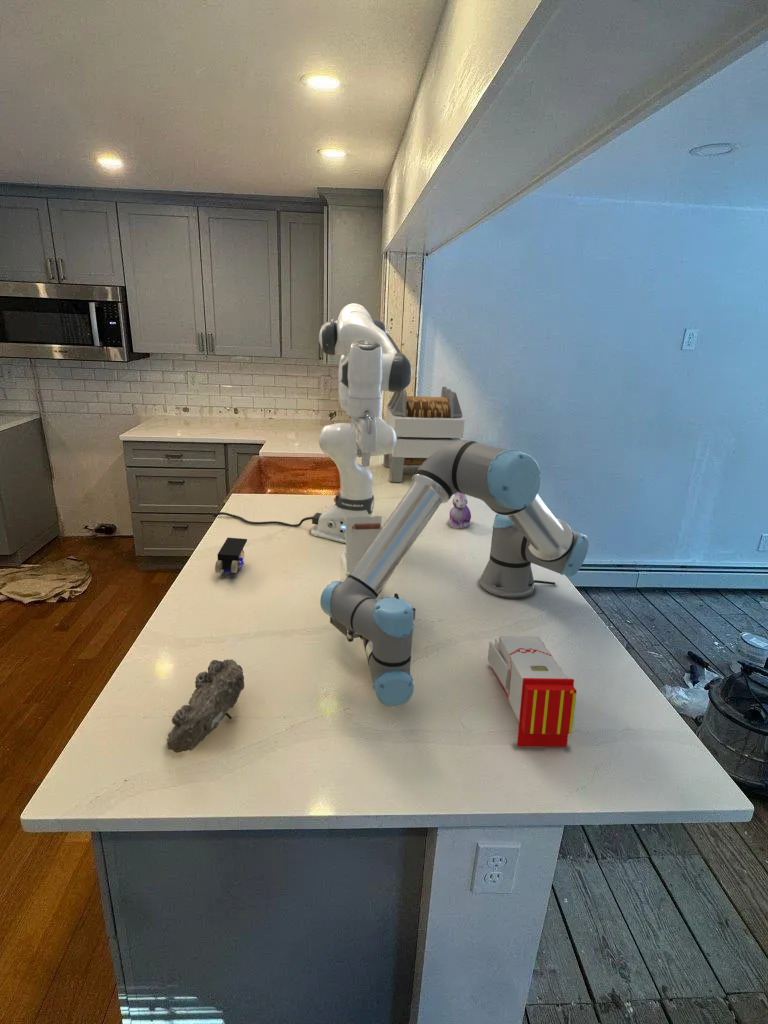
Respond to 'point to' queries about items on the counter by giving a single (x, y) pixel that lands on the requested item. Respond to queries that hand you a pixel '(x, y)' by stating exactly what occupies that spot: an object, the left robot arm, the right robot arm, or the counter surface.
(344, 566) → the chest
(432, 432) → the transformer
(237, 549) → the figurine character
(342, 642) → the counter surface
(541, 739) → the toy
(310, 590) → the counter surface
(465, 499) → the figurine
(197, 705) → the fossil
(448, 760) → the counter surface
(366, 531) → the lid
